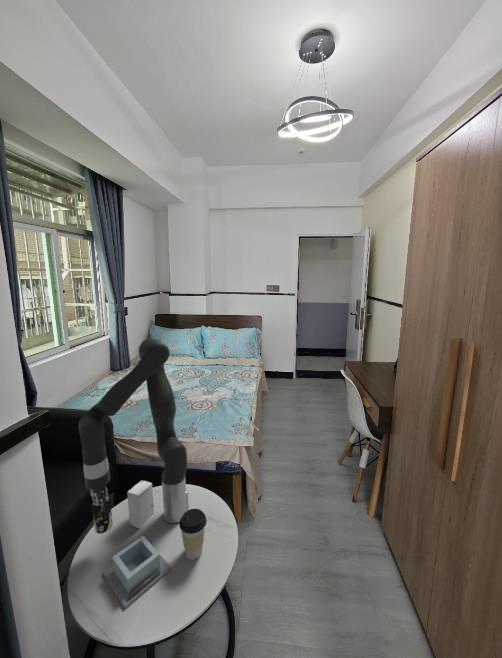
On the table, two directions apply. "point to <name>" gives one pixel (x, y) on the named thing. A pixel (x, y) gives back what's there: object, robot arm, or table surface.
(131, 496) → the skincare box
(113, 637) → the table surface
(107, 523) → the beverage can
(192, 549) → the coffee cup
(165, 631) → the table surface
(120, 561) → the hollow square can holder
